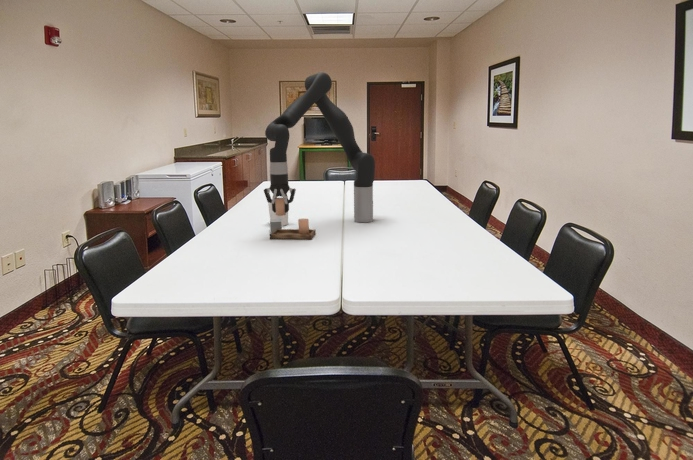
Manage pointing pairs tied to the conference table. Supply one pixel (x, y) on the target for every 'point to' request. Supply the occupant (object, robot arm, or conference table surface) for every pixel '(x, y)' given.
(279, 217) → the candle holder
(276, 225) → the grey block
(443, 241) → the conference table surface
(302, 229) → the clay cylinder
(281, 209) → the clay cylinder
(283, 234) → the tray
